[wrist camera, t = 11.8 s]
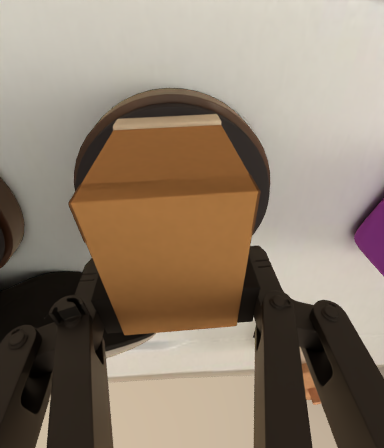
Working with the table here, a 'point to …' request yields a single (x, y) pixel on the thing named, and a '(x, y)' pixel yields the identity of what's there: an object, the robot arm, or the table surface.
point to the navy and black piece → (1, 245)
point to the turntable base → (10, 222)
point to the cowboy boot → (41, 304)
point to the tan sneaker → (171, 215)
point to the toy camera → (373, 237)
